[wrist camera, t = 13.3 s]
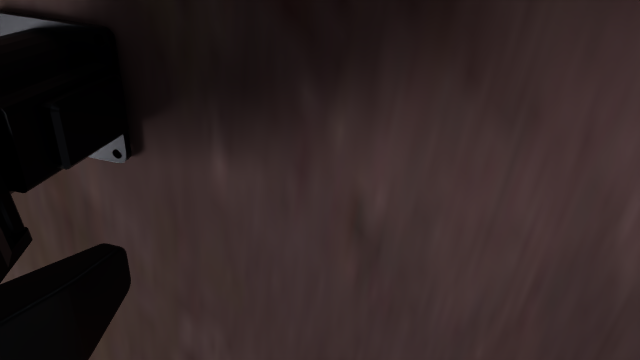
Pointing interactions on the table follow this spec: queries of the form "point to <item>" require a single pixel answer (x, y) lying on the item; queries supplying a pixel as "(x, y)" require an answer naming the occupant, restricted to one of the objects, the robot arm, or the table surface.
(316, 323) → the table surface
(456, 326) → the table surface
